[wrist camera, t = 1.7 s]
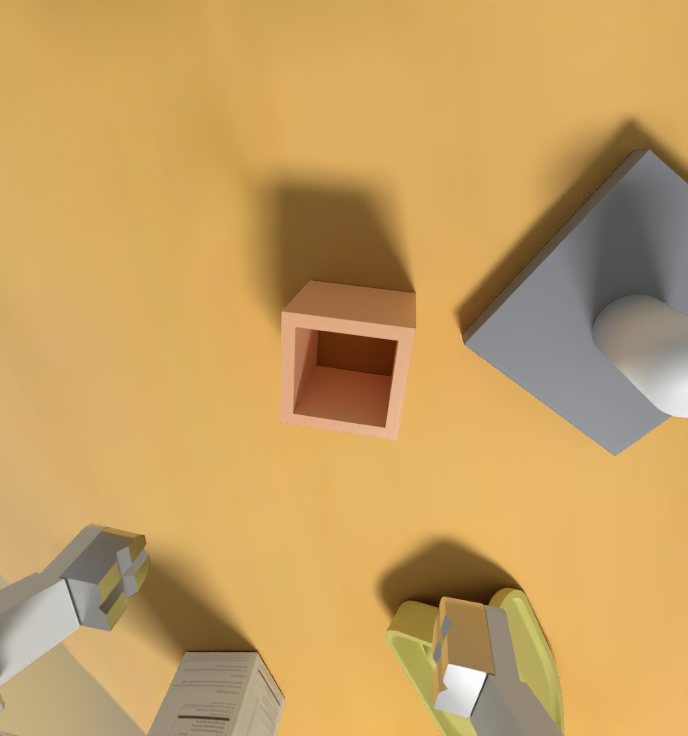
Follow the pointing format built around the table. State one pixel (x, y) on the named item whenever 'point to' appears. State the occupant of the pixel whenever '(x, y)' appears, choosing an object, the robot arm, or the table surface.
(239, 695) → the supplement box
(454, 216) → the table surface
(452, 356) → the table surface
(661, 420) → the base
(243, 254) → the table surface
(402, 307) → the sleeve
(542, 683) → the plastic component
